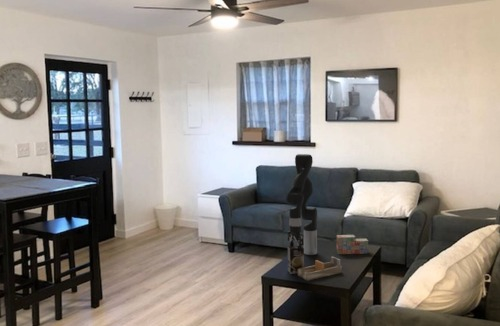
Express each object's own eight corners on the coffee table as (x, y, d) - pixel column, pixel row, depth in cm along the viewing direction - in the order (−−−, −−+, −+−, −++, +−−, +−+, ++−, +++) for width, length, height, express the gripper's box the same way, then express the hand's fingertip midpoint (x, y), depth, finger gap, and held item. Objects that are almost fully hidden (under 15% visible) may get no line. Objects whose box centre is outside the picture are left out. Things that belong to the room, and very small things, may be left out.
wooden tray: (297, 275, 290) (297, 263, 289) (331, 267, 302) (331, 255, 301) (307, 280, 281) (307, 267, 280) (341, 272, 293) (341, 260, 292)
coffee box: (290, 274, 293) (290, 249, 291) (287, 270, 299) (287, 246, 297) (304, 272, 294) (304, 247, 292) (301, 269, 301) (301, 245, 299)
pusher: (315, 271, 294) (315, 260, 293) (316, 270, 294) (316, 259, 294) (322, 274, 287) (322, 263, 287) (324, 274, 288) (323, 263, 287)
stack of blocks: (366, 251, 335) (366, 234, 334) (368, 253, 329) (368, 236, 328) (336, 251, 336) (336, 234, 335) (337, 254, 330) (337, 237, 328)
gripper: (284, 223, 298) (284, 248, 299) (296, 227, 285) (297, 253, 287) (293, 221, 301) (294, 246, 303) (306, 225, 289) (307, 251, 290)
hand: (295, 249), depth 295 cm, fingers open, 8 cm apart
